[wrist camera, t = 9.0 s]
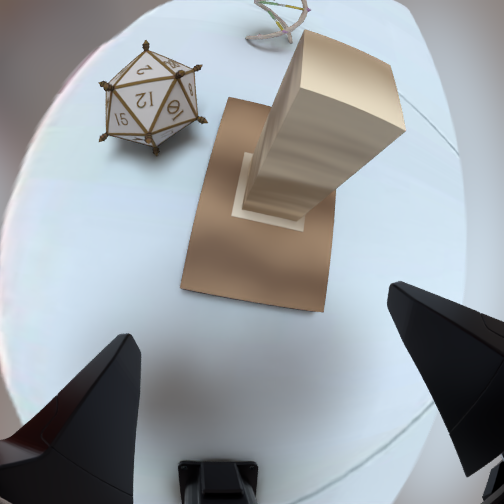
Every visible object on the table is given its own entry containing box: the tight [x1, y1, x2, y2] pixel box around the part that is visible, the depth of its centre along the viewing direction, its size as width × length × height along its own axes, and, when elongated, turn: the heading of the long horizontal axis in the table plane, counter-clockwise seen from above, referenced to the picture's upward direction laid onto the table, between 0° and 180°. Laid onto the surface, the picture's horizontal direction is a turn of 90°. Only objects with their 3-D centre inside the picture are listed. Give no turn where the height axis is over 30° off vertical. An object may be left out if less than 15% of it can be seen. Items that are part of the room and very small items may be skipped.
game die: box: [99, 40, 208, 156], centre depth 17 cm, size 9×8×10 cm
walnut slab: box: [180, 97, 336, 312], centre depth 20 cm, size 16×10×2 cm, turn 171°
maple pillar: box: [242, 30, 406, 222], centre depth 13 cm, size 4×4×12 cm
